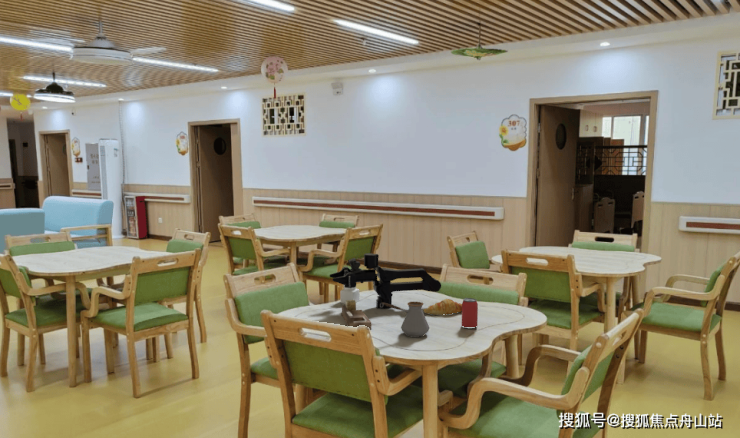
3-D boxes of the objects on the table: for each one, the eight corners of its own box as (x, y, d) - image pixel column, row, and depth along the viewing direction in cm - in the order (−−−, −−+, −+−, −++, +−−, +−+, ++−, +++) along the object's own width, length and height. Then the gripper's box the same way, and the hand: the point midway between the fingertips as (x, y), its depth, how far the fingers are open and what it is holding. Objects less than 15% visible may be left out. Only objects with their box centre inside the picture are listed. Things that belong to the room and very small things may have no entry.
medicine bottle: (359, 302, 278) (359, 279, 276) (353, 306, 271) (353, 282, 270) (346, 301, 281) (346, 277, 279) (340, 304, 274) (340, 280, 273)
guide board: (361, 316, 254) (361, 303, 253) (371, 329, 234) (371, 315, 234) (341, 317, 252) (341, 305, 251) (350, 330, 233) (350, 317, 232)
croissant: (426, 323, 254) (428, 310, 250) (419, 308, 262) (421, 295, 258) (469, 319, 260) (472, 306, 255) (461, 304, 268) (464, 291, 263)
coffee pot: (420, 328, 235) (420, 293, 233) (434, 336, 225) (435, 299, 223) (374, 335, 226) (374, 299, 224) (387, 344, 216) (387, 305, 214)
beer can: (467, 330, 232) (468, 302, 231) (458, 326, 238) (458, 298, 237) (480, 328, 235) (481, 300, 234) (470, 324, 241) (471, 297, 240)
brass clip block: (354, 310, 260) (354, 299, 260) (355, 312, 256) (355, 301, 256) (345, 310, 259) (345, 300, 259) (347, 313, 255) (347, 302, 255)
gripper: (360, 255, 270) (327, 257, 266) (368, 262, 252) (334, 264, 248) (360, 278, 271) (328, 280, 268) (368, 286, 253) (334, 288, 249)
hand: (331, 277), depth 258 cm, fingers open, 9 cm apart
